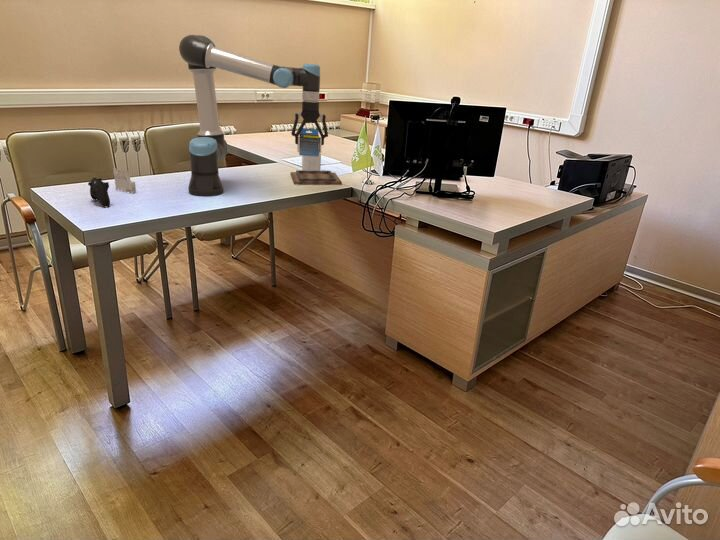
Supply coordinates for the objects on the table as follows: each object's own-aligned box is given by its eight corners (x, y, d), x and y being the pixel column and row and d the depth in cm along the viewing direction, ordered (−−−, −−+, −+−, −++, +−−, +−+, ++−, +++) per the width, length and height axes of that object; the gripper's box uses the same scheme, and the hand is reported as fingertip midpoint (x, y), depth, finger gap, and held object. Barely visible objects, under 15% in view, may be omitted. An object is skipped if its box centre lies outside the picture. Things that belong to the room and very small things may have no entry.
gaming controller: (86, 200, 207) (82, 176, 203) (101, 198, 211) (98, 174, 207) (98, 208, 198) (95, 183, 194) (114, 206, 202) (111, 181, 198)
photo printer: (319, 171, 282) (320, 148, 277) (321, 172, 278) (321, 150, 273) (301, 171, 279) (301, 148, 275) (302, 172, 276) (302, 149, 271)
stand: (294, 184, 251) (294, 179, 250) (290, 174, 269) (290, 169, 268) (341, 184, 256) (341, 179, 255) (334, 175, 275) (335, 170, 274)
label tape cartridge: (319, 155, 237) (320, 128, 232) (317, 157, 233) (318, 129, 228) (300, 153, 237) (301, 126, 232) (298, 155, 234) (299, 127, 229)
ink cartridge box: (120, 188, 226) (117, 166, 222) (136, 193, 221) (134, 170, 217) (115, 189, 224) (112, 167, 220) (131, 194, 219) (129, 171, 215)
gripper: (286, 100, 220) (286, 152, 229) (336, 103, 225) (334, 154, 234) (285, 99, 227) (284, 149, 235) (333, 101, 231) (331, 151, 240)
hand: (309, 151), depth 234 cm, fingers closed on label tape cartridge, 9 cm apart
